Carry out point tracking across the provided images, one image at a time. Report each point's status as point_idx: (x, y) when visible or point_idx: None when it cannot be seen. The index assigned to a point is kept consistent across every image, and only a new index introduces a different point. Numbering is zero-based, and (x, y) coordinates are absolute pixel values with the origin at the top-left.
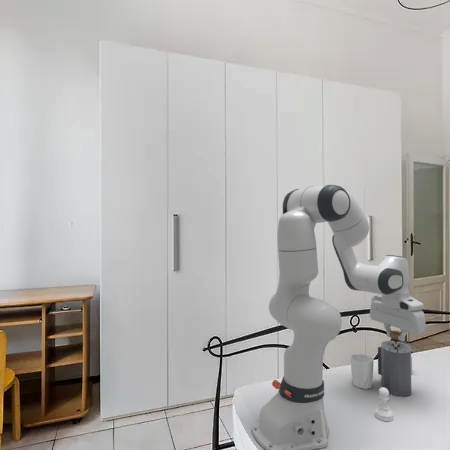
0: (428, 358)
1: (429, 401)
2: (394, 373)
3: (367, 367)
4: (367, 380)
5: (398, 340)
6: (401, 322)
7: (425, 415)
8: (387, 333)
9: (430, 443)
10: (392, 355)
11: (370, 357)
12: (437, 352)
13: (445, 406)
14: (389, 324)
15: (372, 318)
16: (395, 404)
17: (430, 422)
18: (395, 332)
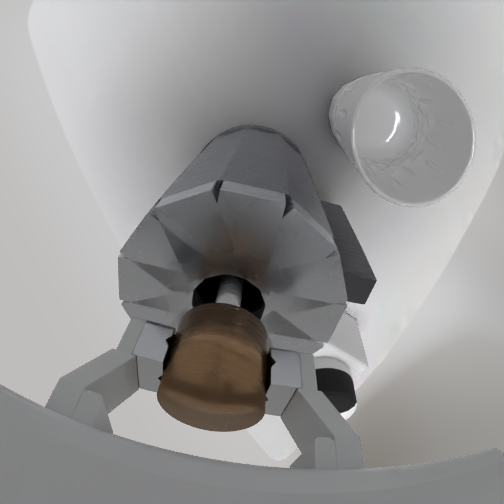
0: (281, 424)
1: (136, 193)
2: (215, 149)
3: (356, 93)
4: (340, 93)
5: (179, 327)
6: (8, 484)
7: (98, 92)
8: (307, 373)
9: None
10: (203, 176)
11: (387, 195)
12: (279, 449)
13: (97, 202)
14: (258, 474)
15: (496, 459)
16: (193, 67)
17: (75, 69)
18: (197, 393)
